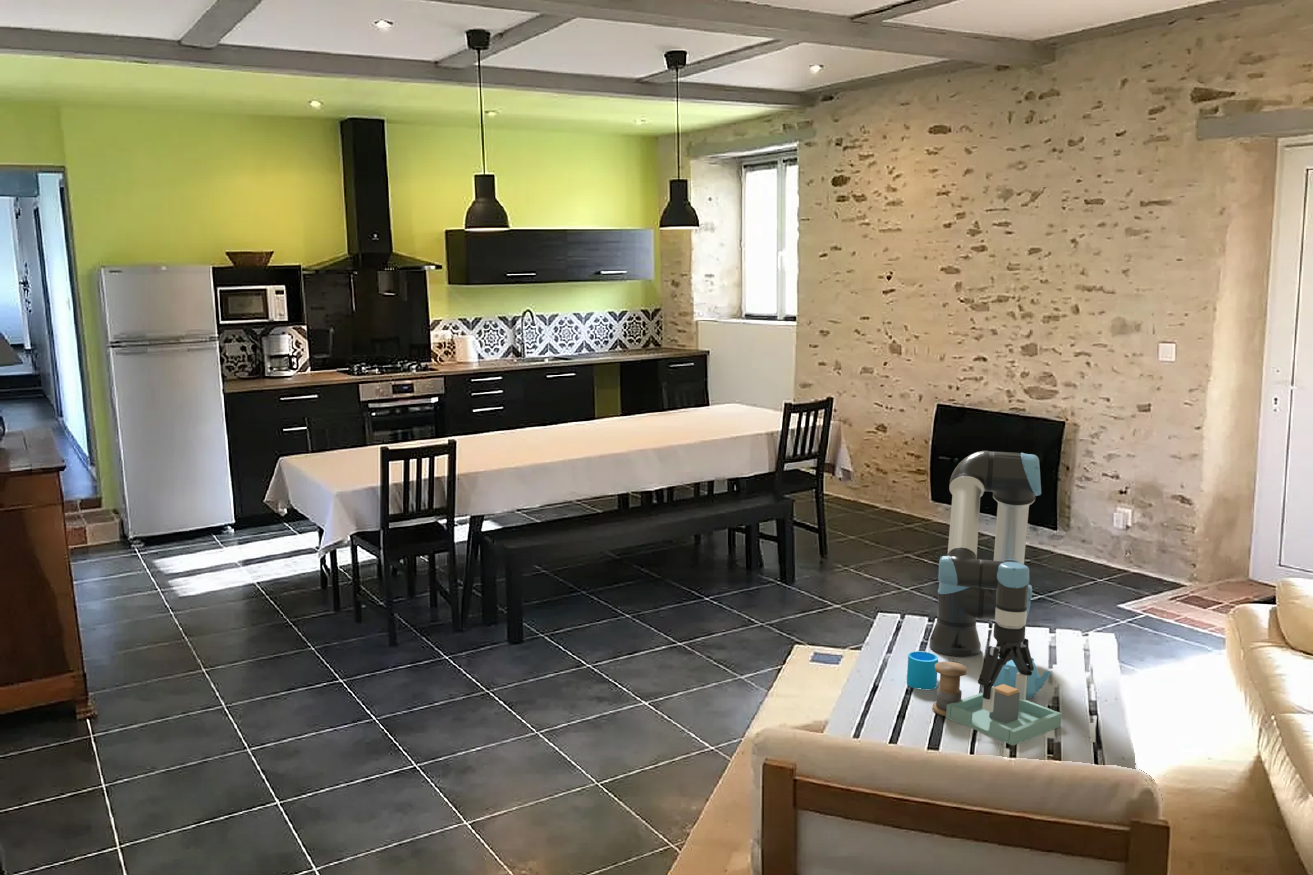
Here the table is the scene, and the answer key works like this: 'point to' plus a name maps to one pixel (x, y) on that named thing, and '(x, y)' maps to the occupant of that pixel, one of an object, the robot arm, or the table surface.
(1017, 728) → the pale green tray
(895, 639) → the table surface
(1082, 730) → the table surface
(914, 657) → the mug
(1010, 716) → the gray and orange block
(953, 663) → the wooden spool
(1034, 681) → the teapot
